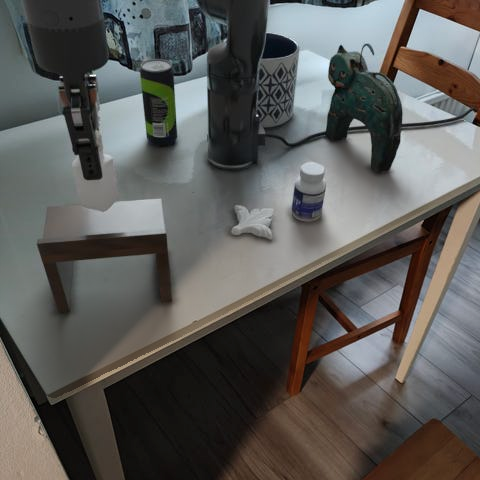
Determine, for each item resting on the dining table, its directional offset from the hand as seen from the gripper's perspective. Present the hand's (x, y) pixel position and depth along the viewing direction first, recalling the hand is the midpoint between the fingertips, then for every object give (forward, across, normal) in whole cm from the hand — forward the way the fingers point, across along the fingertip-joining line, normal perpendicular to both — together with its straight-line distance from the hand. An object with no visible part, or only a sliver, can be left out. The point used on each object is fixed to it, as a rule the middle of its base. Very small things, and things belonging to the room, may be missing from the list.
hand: (93, 165), depth 64 cm
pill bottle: (+19, +13, -33) cm, 40 cm away
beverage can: (+19, +42, -10) cm, 47 cm away
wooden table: (+19, 0, 0) cm, 19 cm away
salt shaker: (+6, 0, 0) cm, 6 cm away
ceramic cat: (+19, +33, -49) cm, 62 cm away
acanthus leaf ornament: (+19, +11, -23) cm, 32 cm away
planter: (+19, +52, -32) cm, 64 cm away
